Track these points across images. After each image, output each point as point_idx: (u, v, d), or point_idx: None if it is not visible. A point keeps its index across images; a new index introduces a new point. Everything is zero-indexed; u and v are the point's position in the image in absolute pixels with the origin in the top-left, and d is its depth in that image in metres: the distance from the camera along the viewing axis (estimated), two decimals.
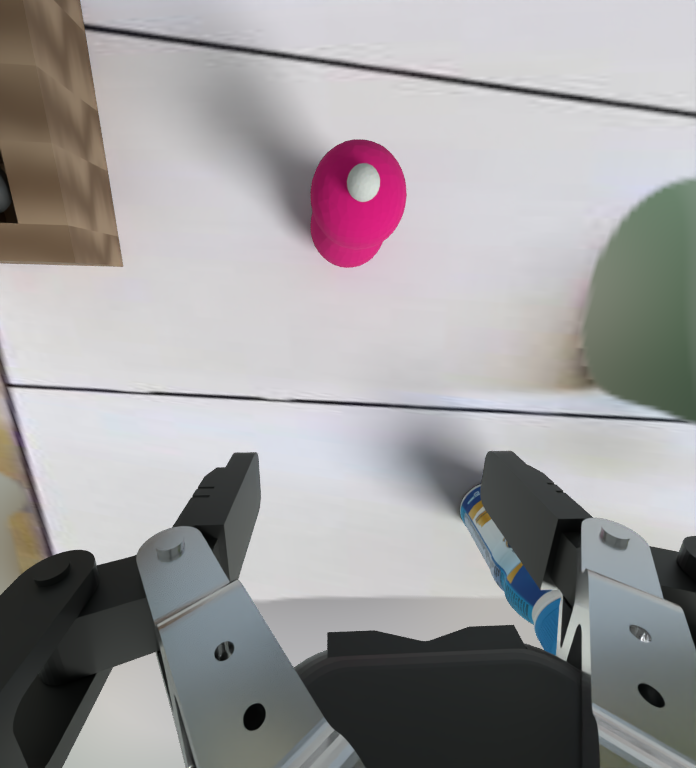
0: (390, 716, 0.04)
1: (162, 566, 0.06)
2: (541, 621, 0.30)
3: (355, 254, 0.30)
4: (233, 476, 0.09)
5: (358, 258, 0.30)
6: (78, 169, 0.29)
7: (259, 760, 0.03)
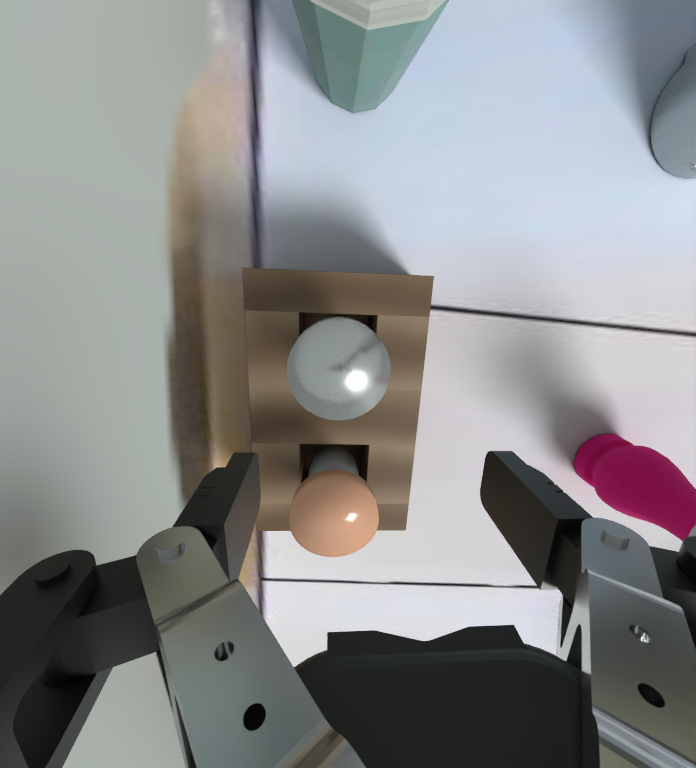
0: (390, 716, 0.04)
1: (162, 566, 0.06)
2: None
3: None
4: (233, 476, 0.09)
5: None
6: None
7: (259, 760, 0.03)
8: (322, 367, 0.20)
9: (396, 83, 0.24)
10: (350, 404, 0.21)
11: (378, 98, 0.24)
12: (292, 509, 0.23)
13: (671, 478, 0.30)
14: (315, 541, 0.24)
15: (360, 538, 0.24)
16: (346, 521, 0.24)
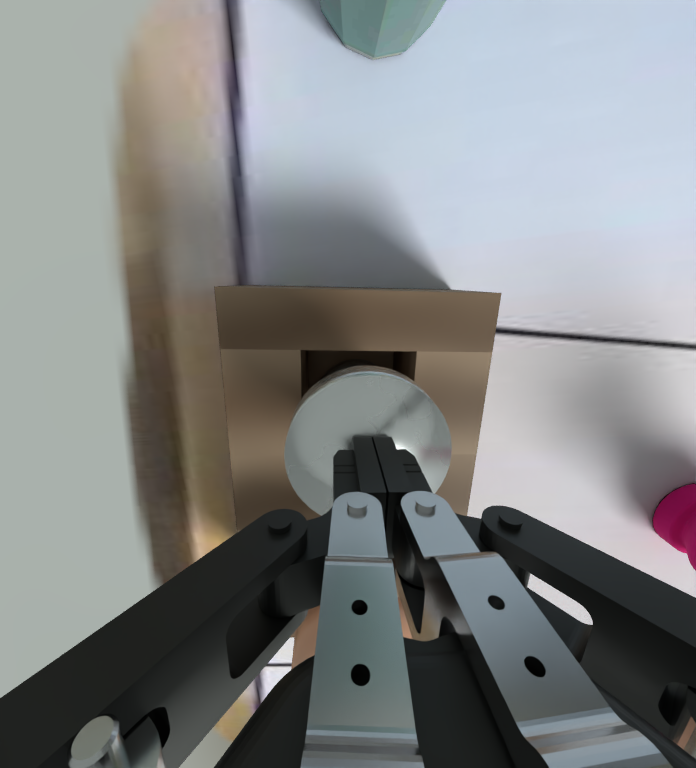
0: None
1: (362, 521, 0.08)
2: None
3: None
4: (366, 455, 0.11)
5: None
6: None
7: (351, 711, 0.04)
8: None
9: (440, 6, 0.16)
10: None
11: (414, 29, 0.16)
12: (296, 658, 0.15)
13: None
14: None
15: None
16: None
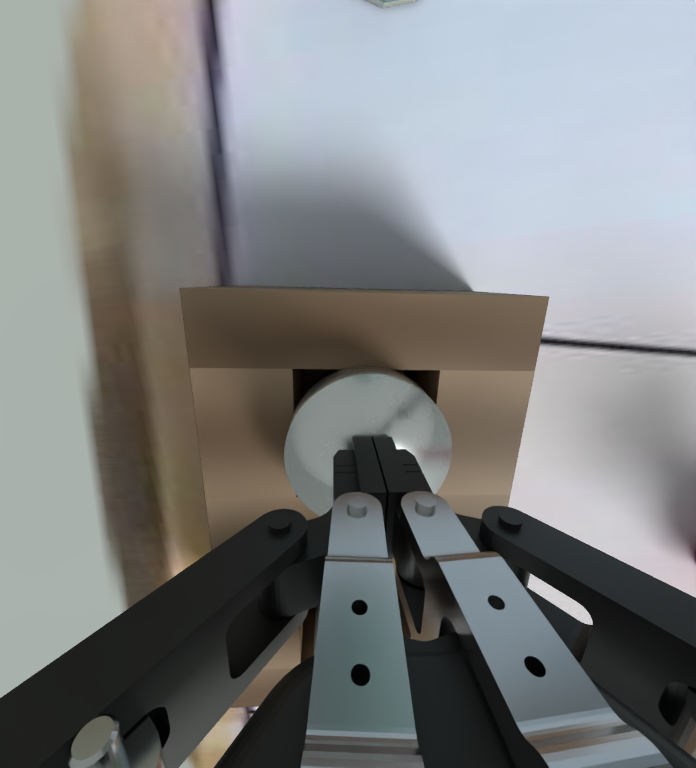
0: None
1: (362, 521, 0.08)
2: None
3: None
4: (366, 455, 0.11)
5: None
6: None
7: (351, 710, 0.04)
8: None
9: None
10: None
11: None
12: None
13: None
14: None
15: None
16: None
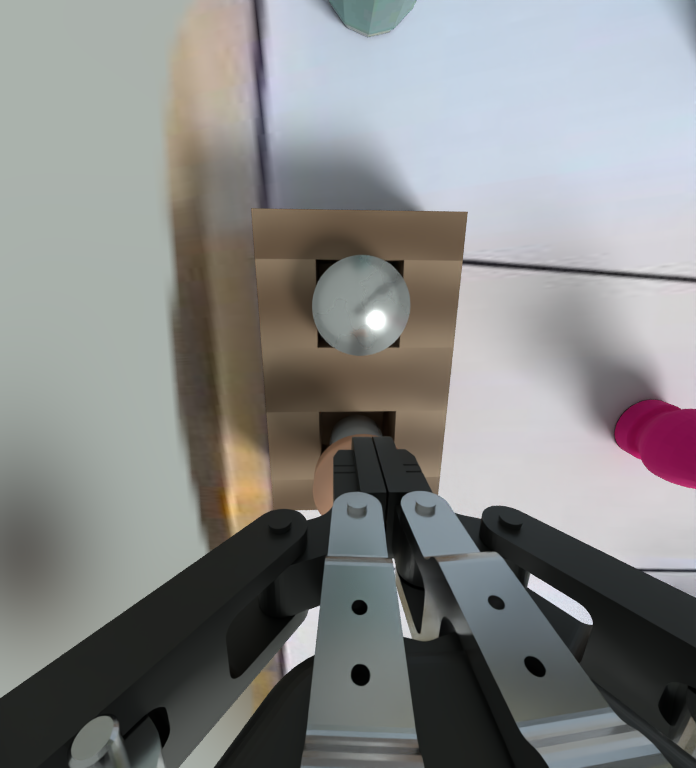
0: None
1: (362, 521, 0.08)
2: None
3: None
4: (366, 455, 0.11)
5: None
6: None
7: (350, 710, 0.04)
8: (345, 303, 0.21)
9: None
10: (372, 339, 0.22)
11: (398, 10, 0.21)
12: (316, 478, 0.20)
13: None
14: None
15: None
16: None
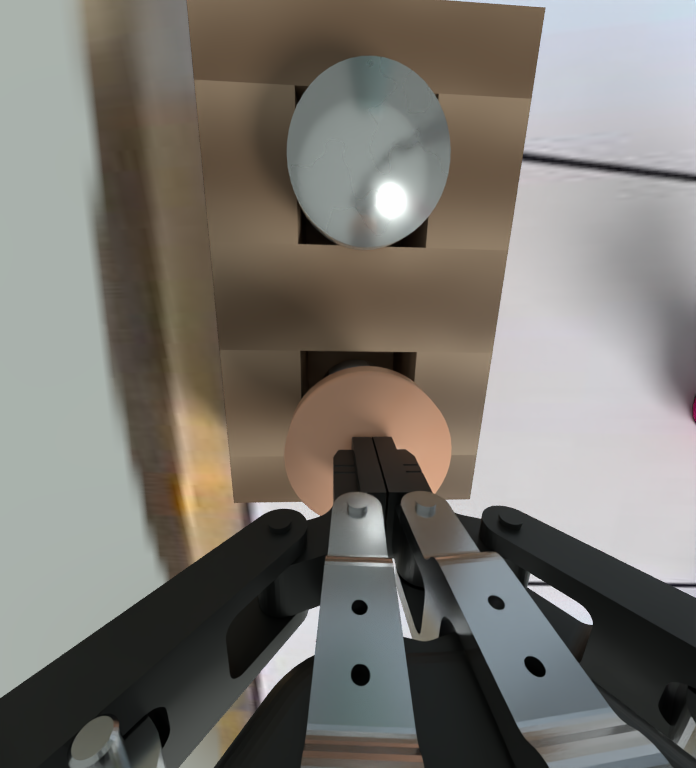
0: None
1: (362, 521, 0.08)
2: None
3: None
4: (366, 455, 0.11)
5: None
6: None
7: (351, 710, 0.04)
8: (343, 149, 0.13)
9: None
10: (386, 218, 0.14)
11: None
12: (289, 434, 0.12)
13: None
14: None
15: None
16: None
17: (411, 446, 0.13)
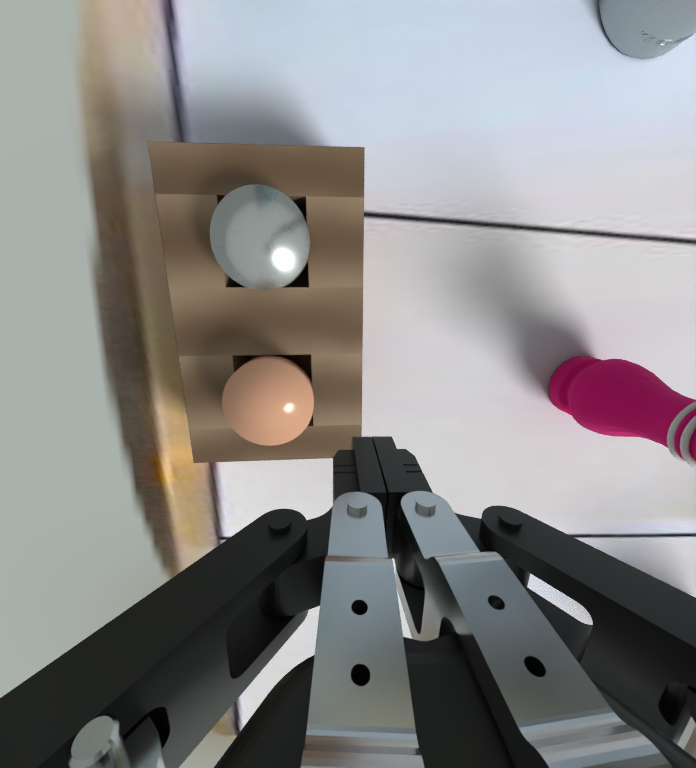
0: None
1: (362, 521, 0.08)
2: None
3: None
4: (366, 455, 0.11)
5: None
6: None
7: (351, 710, 0.04)
8: (243, 234, 0.21)
9: None
10: (274, 273, 0.22)
11: None
12: (224, 392, 0.23)
13: (647, 382, 0.27)
14: (251, 427, 0.24)
15: (297, 424, 0.24)
16: (280, 404, 0.23)
17: (290, 397, 0.23)
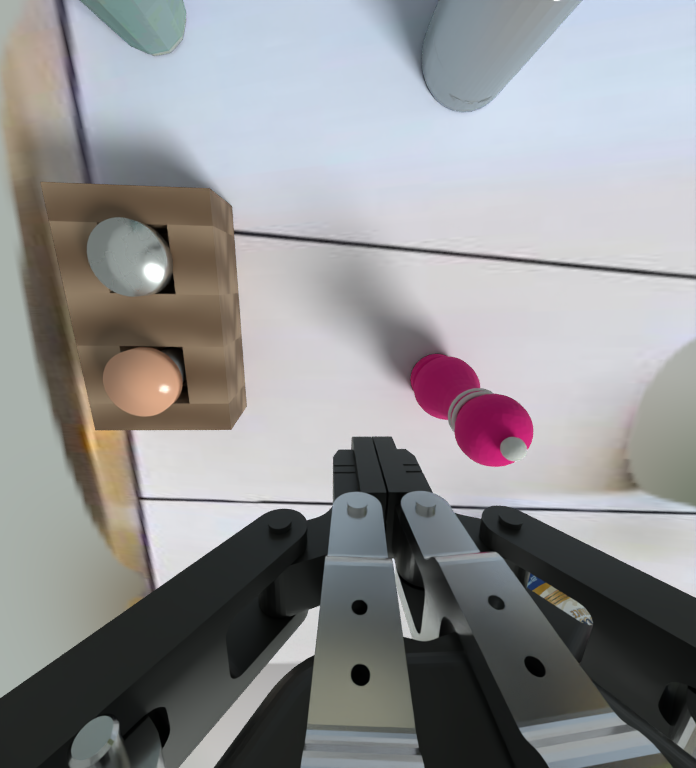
0: None
1: (362, 521, 0.08)
2: None
3: None
4: (366, 455, 0.11)
5: None
6: (232, 352, 0.36)
7: (350, 710, 0.04)
8: (113, 254, 0.28)
9: (174, 25, 0.29)
10: (139, 283, 0.29)
11: (158, 38, 0.29)
12: (104, 374, 0.30)
13: (456, 375, 0.34)
14: (128, 402, 0.31)
15: (164, 400, 0.31)
16: (149, 384, 0.31)
17: (156, 379, 0.30)
